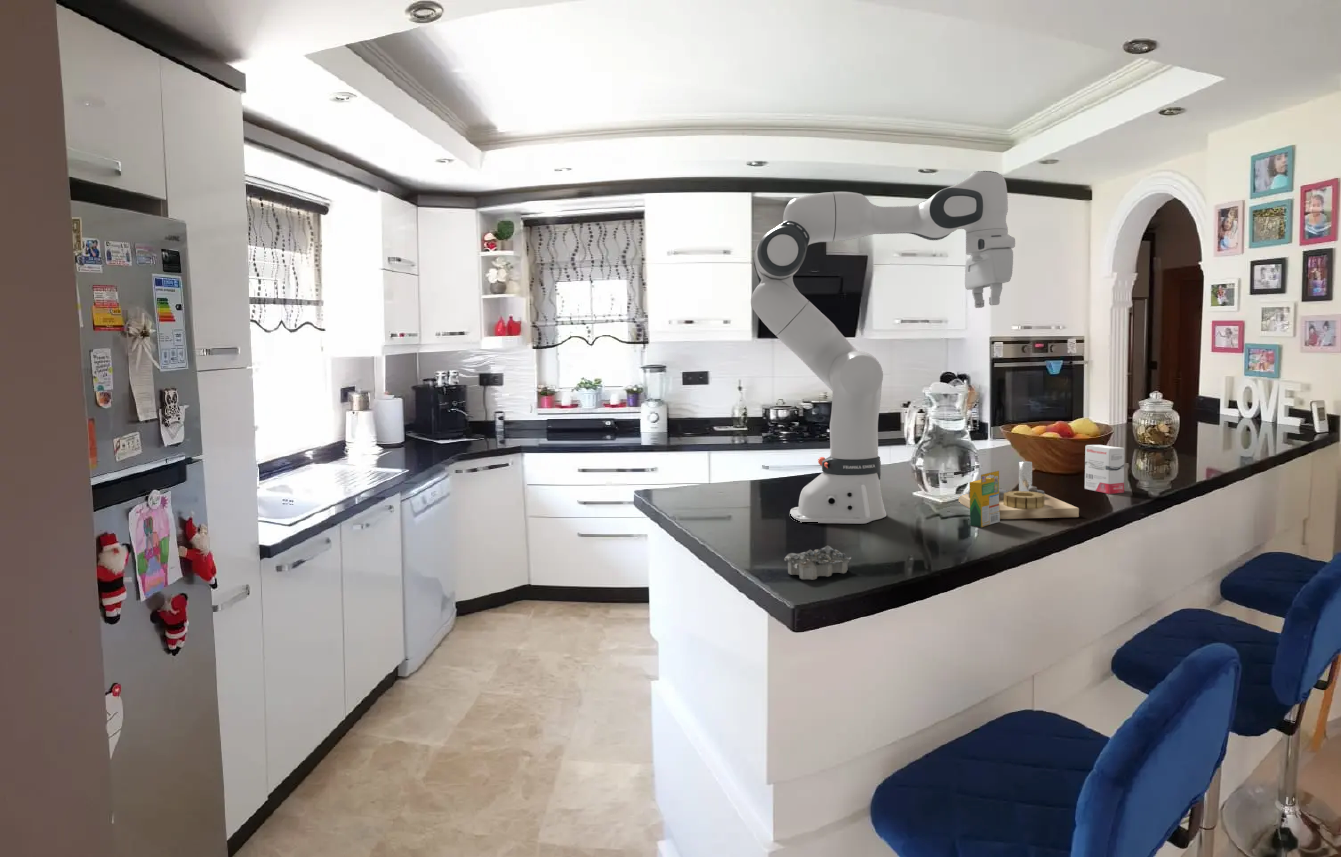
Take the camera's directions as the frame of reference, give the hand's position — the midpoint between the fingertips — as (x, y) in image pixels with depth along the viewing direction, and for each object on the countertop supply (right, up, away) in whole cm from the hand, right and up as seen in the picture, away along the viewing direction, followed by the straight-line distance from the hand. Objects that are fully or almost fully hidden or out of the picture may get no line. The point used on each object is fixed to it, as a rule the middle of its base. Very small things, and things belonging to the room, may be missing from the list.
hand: (986, 306), depth 172 cm
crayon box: (-3, -49, -7) cm, 50 cm away
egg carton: (-46, -54, -37) cm, 80 cm away
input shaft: (+18, -46, +20) cm, 53 cm away
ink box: (+40, -45, +23) cm, 64 cm away
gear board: (+9, -47, +6) cm, 49 cm away
